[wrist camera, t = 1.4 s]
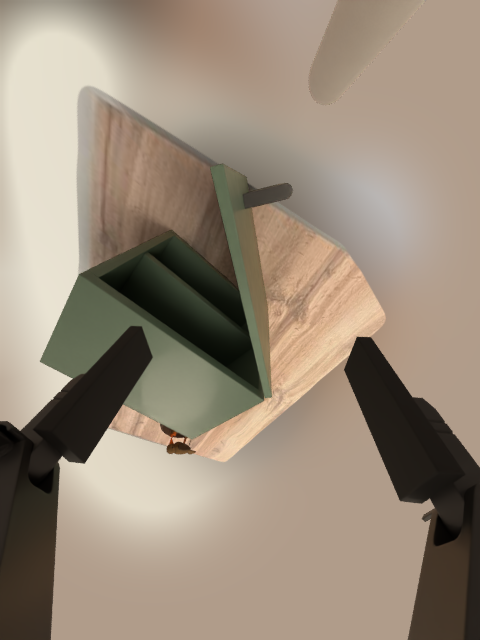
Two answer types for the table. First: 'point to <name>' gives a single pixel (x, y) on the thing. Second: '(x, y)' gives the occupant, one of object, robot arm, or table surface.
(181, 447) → the music box
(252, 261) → the door
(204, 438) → the table surface
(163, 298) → the cupboard
